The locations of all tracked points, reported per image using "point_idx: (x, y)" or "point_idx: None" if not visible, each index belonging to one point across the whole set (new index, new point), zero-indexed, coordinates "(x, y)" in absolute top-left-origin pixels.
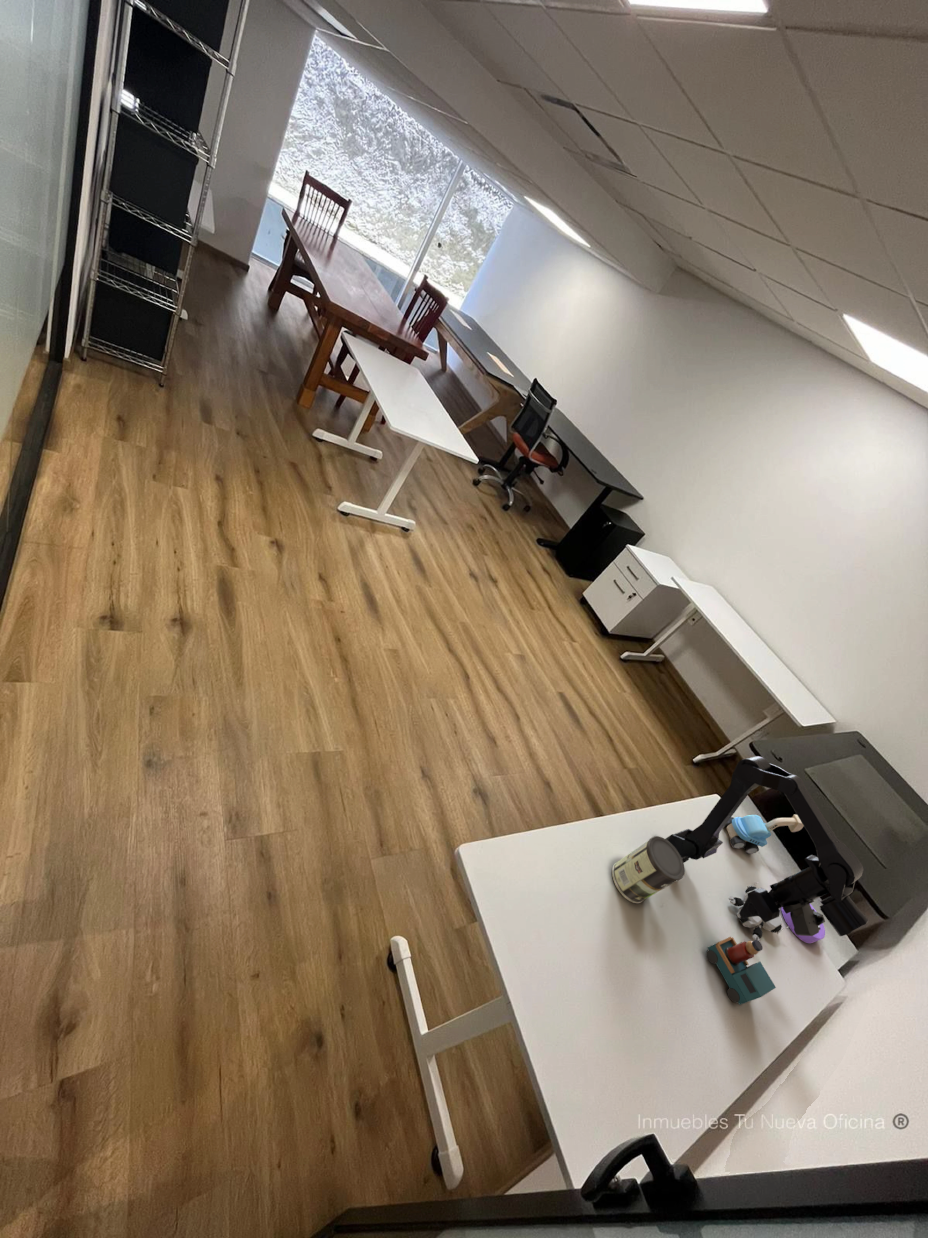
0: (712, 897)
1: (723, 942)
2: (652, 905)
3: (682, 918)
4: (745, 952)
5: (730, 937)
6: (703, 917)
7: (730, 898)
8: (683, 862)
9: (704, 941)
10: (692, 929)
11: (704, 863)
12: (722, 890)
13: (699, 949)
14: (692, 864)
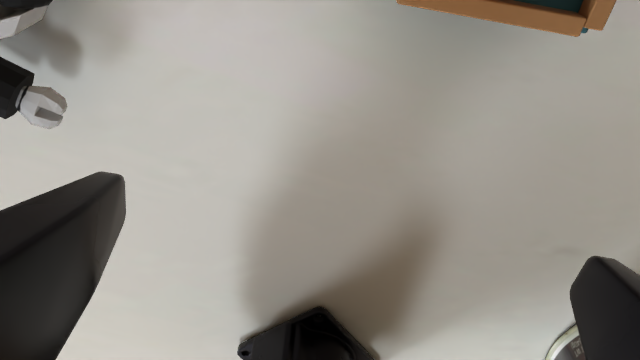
0: (161, 151)
1: (525, 13)
2: None
3: (501, 171)
4: None
5: (409, 2)
6: (342, 115)
7: (53, 124)
8: (289, 355)
9: (476, 31)
10: (494, 111)
11: None
12: (36, 144)
13: None
14: (165, 287)
